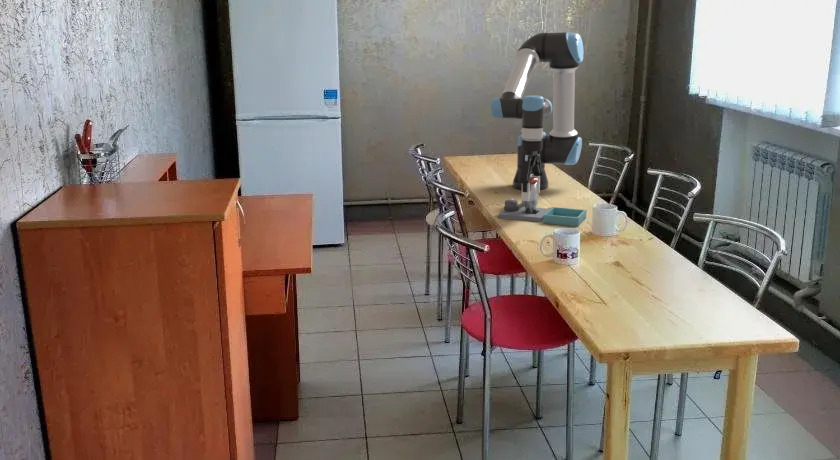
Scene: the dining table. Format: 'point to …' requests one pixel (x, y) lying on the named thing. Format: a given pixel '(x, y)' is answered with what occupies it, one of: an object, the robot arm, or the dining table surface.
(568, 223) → the tray
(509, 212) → the board
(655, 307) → the dining table surface
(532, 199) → the bottle with red cap
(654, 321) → the dining table surface
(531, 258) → the dining table surface
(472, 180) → the dining table surface
